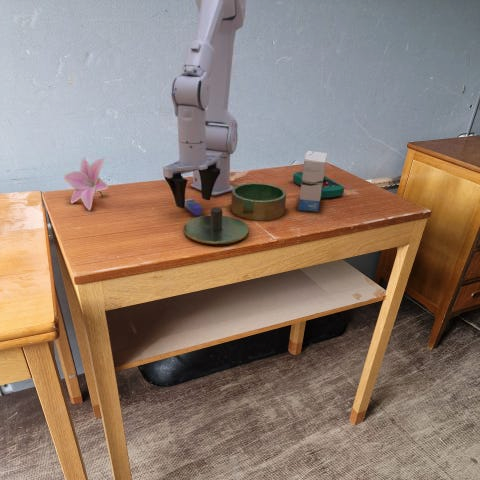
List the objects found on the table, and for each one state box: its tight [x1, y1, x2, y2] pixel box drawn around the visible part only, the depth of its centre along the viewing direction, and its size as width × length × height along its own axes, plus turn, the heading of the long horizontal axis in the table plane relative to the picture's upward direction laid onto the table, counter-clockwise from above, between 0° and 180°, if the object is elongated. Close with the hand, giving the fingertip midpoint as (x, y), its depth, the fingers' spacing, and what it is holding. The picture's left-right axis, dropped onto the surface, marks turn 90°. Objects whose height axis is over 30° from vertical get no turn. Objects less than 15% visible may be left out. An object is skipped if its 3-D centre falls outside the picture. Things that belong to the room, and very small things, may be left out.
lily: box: [63, 156, 109, 211], centre depth 103 cm, size 12×12×10 cm
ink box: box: [297, 150, 328, 213], centre depth 104 cm, size 8×5×12 cm, turn 169°
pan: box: [231, 182, 287, 221], centre depth 103 cm, size 12×12×4 cm
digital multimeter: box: [292, 171, 345, 200], centre depth 117 cm, size 7×15×3 cm, turn 23°
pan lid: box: [183, 207, 250, 245], centre depth 91 cm, size 14×14×5 cm
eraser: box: [184, 198, 203, 217], centre depth 101 cm, size 2×6×2 cm, turn 25°
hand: (193, 203), depth 101 cm, fingers open, 7 cm apart
